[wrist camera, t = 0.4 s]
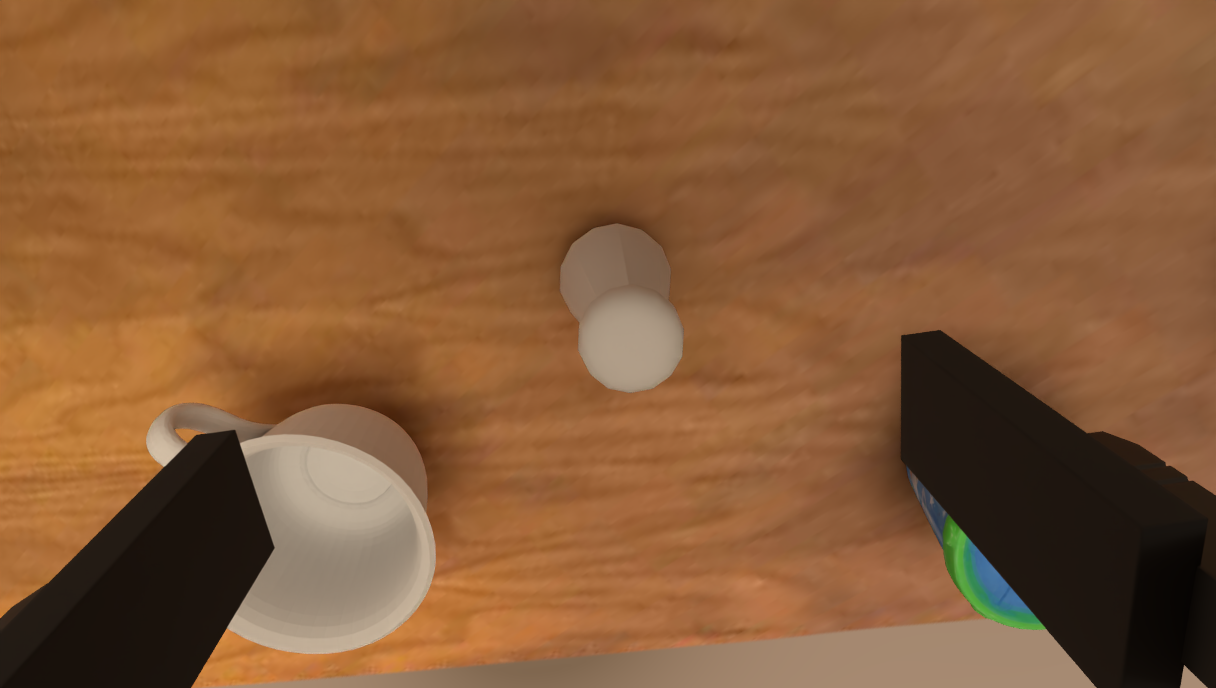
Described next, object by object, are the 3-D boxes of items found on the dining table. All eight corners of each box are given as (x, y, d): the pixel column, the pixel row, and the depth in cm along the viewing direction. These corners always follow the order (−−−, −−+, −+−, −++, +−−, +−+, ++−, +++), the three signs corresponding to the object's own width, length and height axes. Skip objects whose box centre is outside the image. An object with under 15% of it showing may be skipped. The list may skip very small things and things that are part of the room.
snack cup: (846, 368, 45) (923, 449, 35) (1021, 304, 44) (1149, 369, 34) (906, 574, 50) (987, 694, 40) (1064, 520, 49) (1184, 629, 40)
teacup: (294, 279, 41) (214, 341, 32) (503, 445, 45) (487, 544, 36) (167, 428, 44) (58, 526, 34) (376, 573, 48) (329, 697, 38)
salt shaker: (601, 337, 43) (615, 444, 31) (538, 259, 42) (527, 338, 29) (685, 277, 42) (735, 362, 30) (625, 194, 41) (651, 248, 28)
